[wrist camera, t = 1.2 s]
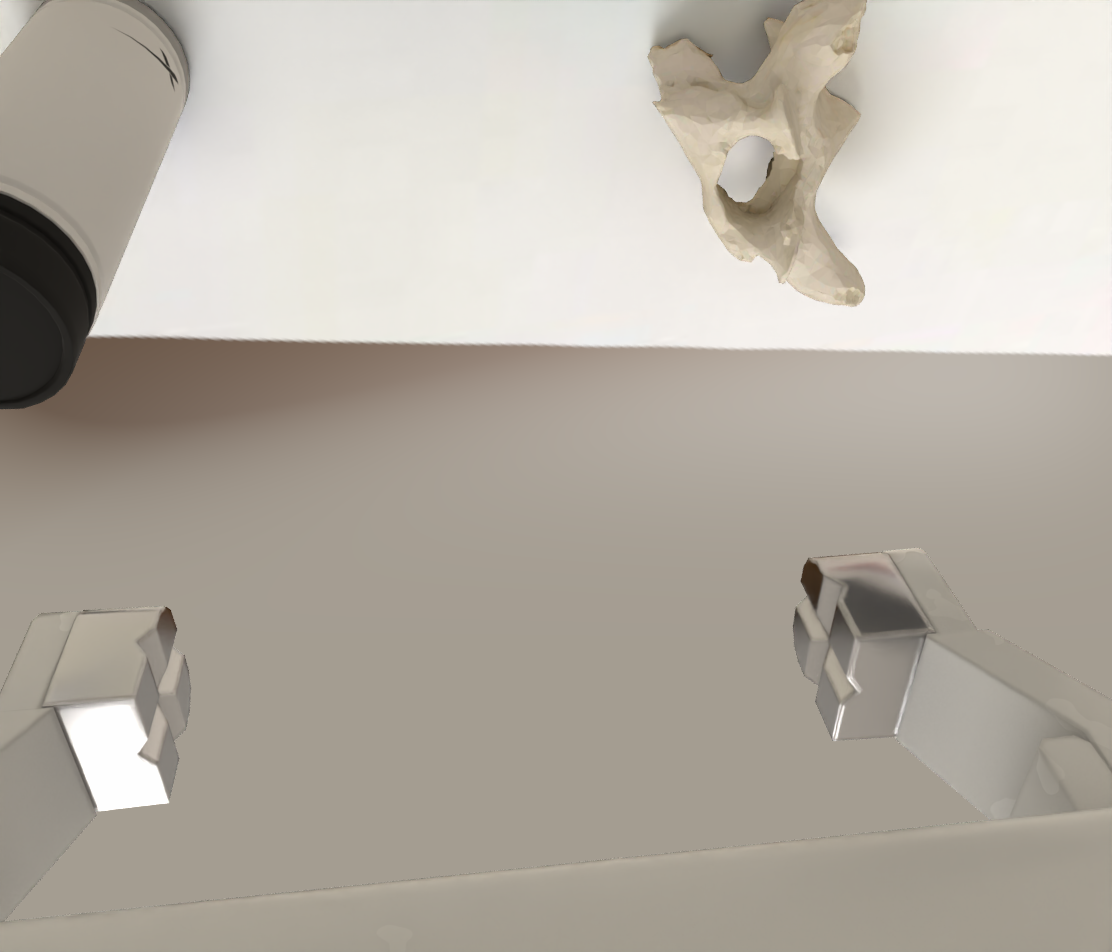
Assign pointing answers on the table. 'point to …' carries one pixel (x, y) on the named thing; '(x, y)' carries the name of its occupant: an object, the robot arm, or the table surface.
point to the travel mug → (75, 173)
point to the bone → (772, 141)
